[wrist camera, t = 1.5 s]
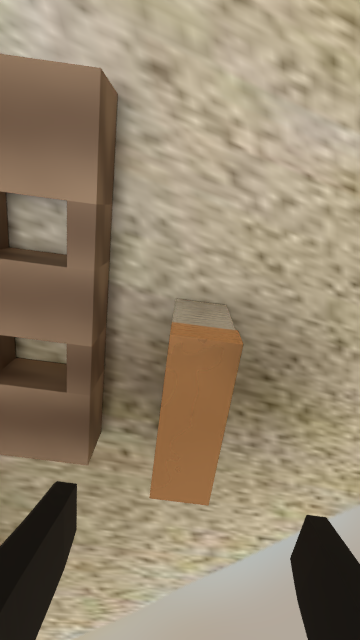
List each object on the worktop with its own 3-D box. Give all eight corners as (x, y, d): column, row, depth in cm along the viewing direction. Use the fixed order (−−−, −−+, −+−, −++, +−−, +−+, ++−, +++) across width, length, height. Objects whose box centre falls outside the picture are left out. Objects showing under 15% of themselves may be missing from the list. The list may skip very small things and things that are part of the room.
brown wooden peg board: (101, 431, 22) (87, 465, 19) (0, 419, 22) (-28, 451, 19) (117, 94, 15) (100, 68, 12) (-29, 73, 15) (-81, 42, 12)
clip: (203, 426, 21) (208, 505, 16) (160, 421, 21) (149, 497, 16) (227, 301, 18) (243, 344, 13) (176, 295, 18) (170, 334, 13)
